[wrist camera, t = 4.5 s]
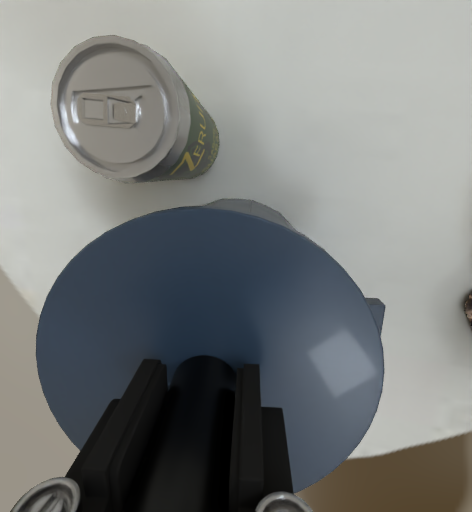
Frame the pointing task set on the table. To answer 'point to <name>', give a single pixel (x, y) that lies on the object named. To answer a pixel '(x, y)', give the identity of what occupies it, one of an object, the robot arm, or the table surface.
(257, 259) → the lid
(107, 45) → the beer can
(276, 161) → the table surface
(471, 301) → the plant with pod
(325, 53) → the table surface
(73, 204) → the table surface
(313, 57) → the table surface
